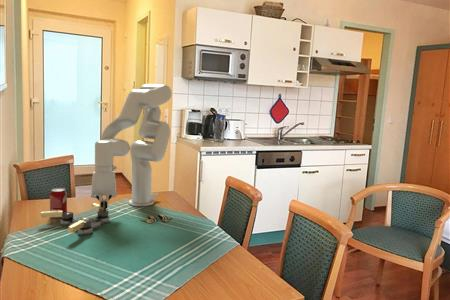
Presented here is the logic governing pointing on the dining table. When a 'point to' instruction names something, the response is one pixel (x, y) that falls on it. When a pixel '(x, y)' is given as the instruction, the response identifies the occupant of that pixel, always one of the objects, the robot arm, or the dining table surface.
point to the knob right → (57, 215)
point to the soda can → (58, 200)
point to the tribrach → (95, 223)
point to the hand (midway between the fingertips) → (103, 209)
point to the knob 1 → (80, 226)
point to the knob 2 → (100, 211)
